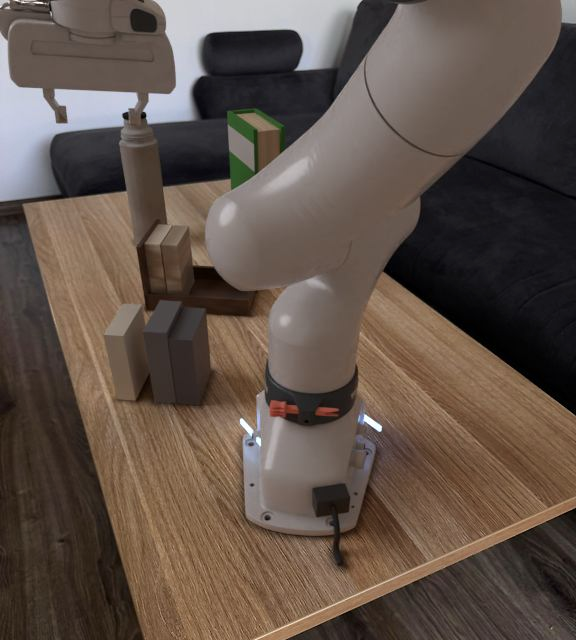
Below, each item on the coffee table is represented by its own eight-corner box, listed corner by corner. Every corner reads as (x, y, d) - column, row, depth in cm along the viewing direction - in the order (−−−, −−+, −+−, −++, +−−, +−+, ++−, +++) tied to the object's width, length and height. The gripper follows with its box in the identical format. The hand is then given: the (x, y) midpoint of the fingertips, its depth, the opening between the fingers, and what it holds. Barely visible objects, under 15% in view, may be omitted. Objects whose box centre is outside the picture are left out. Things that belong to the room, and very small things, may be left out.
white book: (152, 367, 99) (142, 304, 92) (135, 400, 92) (123, 335, 84) (134, 365, 99) (123, 303, 92) (117, 399, 92) (102, 334, 85)
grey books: (211, 371, 98) (205, 302, 90) (199, 405, 91) (191, 334, 83) (169, 368, 99) (159, 299, 91) (154, 402, 92) (142, 331, 84)
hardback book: (284, 230, 144) (285, 126, 129) (256, 235, 142) (253, 129, 127) (258, 205, 157) (256, 108, 142) (232, 209, 154) (227, 111, 140)
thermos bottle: (151, 230, 143) (133, 106, 126) (176, 238, 140) (161, 111, 123) (127, 242, 138) (106, 113, 121) (153, 250, 135) (134, 119, 118)
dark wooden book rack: (258, 284, 122) (257, 223, 114) (248, 316, 112) (246, 252, 104) (164, 278, 124) (156, 218, 116) (146, 310, 114) (135, 247, 106)
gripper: (-8, 4, 65) (14, 130, 75) (179, 20, 71) (177, 134, 81) (-5, -11, 69) (15, 110, 79) (171, 5, 75) (170, 116, 85)
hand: (99, 123), depth 80 cm, fingers open, 8 cm apart
